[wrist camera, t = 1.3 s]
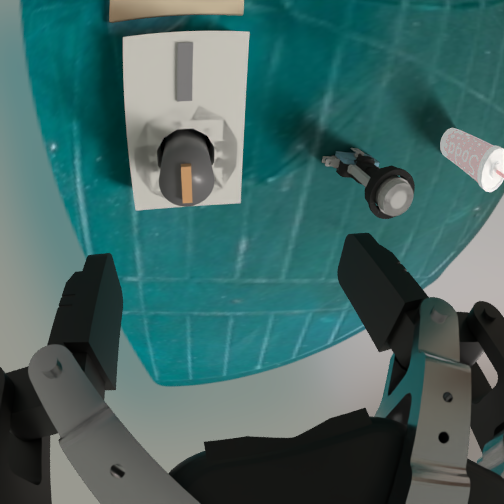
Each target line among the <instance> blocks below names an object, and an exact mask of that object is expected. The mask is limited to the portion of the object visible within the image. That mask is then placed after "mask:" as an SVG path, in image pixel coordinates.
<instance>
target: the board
mask: <svg viewBox="0 0 504 504" xmlns="http://www.w3.org/2000/svg"><path fill="white" fill-rule="evenodd" d="M243 9H244V0H110V11H109V22H111V23H113V22H120V21H127V20H134V19H142V18H152V17H163V16H179V15H243Z"/></svg>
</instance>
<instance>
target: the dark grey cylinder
mask: <svg viewBox="0 0 504 504" xmlns="http://www.w3.org/2000/svg"><path fill="white" fill-rule="evenodd" d="M214 182H215V179H214V173H213V169H212V165H211V160H210V156H209V152H208V148H207V144H206V139H205V135H204V134H203V133H201V132H199V131H197V130H195V129H177V130H175V131H174V132H172V133H171V134H169V135H168V136H166V140H165V146H164V151H163V157H162V163H161V169H160V175H159V188H160V191H161V193H162V194H163V196H164V197H165V198H166V199H167V200H168V201H169V202H171V203H173V204H175V205H178V206H193V205H196V204H199V203H201V202H202V201H204V200H205V199H206V198H207V197H208V196H209V195H210V194H211V192H212V190H213V187H214Z"/></svg>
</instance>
